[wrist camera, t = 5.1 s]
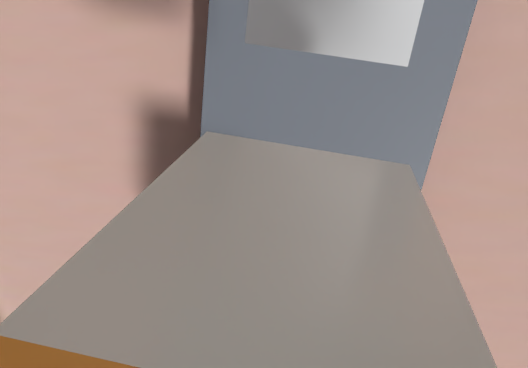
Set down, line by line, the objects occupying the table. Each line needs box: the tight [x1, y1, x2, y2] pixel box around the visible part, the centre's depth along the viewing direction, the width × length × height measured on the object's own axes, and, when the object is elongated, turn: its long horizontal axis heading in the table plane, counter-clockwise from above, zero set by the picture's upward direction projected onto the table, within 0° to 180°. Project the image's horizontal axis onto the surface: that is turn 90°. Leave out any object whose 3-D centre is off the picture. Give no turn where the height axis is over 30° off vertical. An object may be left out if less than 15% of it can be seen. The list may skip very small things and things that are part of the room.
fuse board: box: [200, 0, 477, 190], centre depth 19 cm, size 10×24×2 cm, turn 173°
